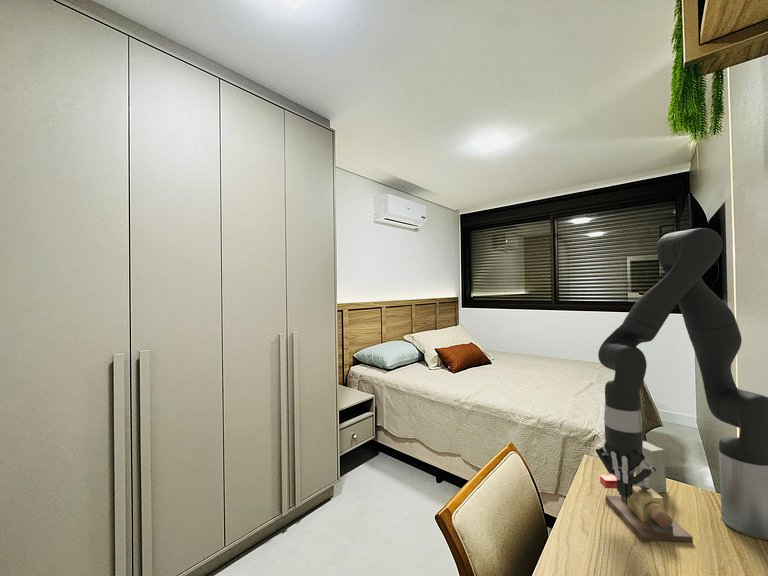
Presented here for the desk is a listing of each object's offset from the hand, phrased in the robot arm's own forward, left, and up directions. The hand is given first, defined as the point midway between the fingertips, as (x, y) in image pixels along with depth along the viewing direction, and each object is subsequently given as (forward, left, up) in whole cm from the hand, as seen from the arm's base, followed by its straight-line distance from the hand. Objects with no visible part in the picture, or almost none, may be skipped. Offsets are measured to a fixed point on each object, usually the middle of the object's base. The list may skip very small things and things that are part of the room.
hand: (624, 495), depth 81 cm
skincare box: (-18, -19, -9) cm, 28 cm away
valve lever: (-3, -4, 0) cm, 5 cm away
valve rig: (-7, -4, -9) cm, 12 cm away
